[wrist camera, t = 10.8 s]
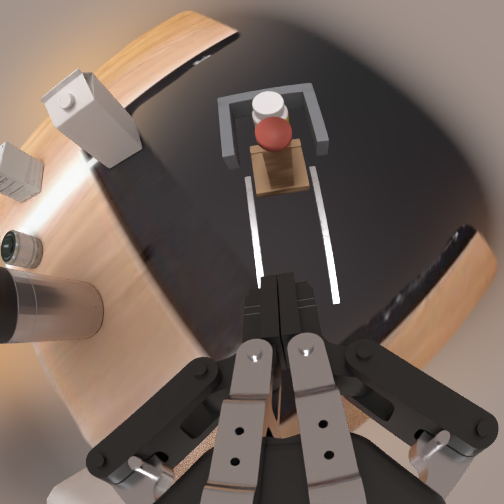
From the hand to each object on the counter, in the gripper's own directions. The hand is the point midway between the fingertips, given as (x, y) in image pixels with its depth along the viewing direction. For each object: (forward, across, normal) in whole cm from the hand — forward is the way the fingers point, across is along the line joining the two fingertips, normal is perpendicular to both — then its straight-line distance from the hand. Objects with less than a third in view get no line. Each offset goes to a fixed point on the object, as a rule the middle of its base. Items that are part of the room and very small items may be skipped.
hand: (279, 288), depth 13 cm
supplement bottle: (+34, -1, 0) cm, 34 cm away
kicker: (+29, -1, +5) cm, 29 cm away
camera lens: (+26, +47, +8) cm, 54 cm away
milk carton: (+38, +25, -4) cm, 45 cm away
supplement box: (+38, +50, -3) cm, 63 cm away
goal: (+34, -1, 0) cm, 34 cm away
